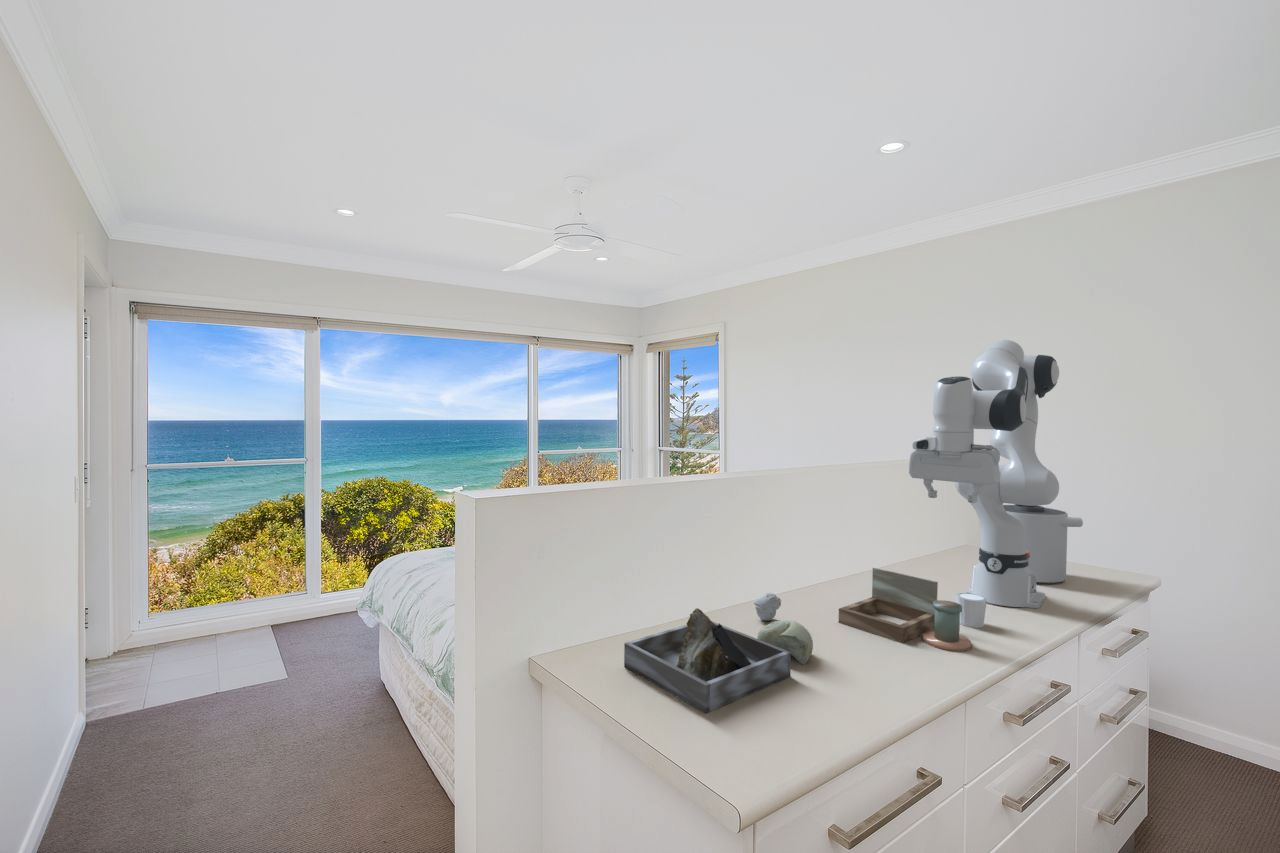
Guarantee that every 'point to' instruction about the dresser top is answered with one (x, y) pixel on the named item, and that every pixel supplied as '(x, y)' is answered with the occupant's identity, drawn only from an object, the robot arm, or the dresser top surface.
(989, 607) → the dresser top surface
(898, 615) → the frame
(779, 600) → the grey rock chunk
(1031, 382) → the robot arm
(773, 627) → the seashell
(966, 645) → the pink round part
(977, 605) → the shot glass
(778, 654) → the display tray
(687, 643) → the mineral specimen
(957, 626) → the plant pot
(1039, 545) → the grey cooking pot
